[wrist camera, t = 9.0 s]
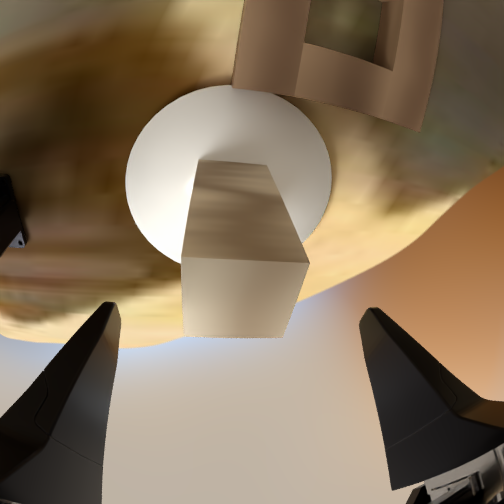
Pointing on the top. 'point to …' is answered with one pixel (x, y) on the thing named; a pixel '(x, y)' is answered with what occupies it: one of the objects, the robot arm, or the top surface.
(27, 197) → the top surface
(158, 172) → the plate
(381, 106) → the holder
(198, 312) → the block
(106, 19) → the top surface
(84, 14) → the top surface
